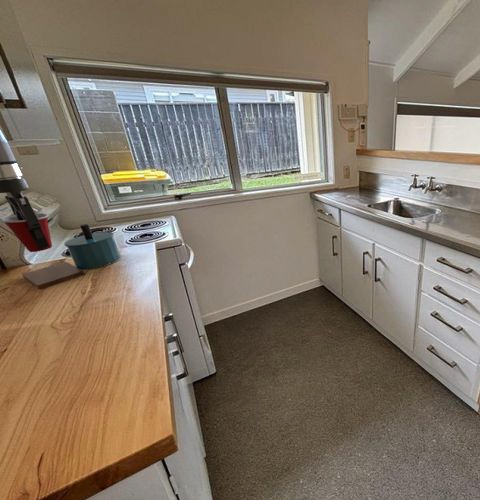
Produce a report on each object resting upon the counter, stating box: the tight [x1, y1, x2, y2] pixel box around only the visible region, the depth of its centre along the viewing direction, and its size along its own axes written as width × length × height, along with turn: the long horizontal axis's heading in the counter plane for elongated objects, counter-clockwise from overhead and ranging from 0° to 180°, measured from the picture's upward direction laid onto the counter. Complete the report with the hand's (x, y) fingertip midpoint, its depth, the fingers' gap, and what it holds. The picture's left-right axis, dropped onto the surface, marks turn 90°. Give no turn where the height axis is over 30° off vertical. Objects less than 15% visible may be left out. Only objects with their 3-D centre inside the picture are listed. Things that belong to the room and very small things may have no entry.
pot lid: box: [63, 223, 115, 248], centre depth 108 cm, size 15×15×7 cm
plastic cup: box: [1, 212, 53, 253], centre depth 96 cm, size 11×11×12 cm
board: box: [21, 261, 86, 290], centre depth 102 cm, size 12×18×2 cm, turn 59°
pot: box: [66, 236, 121, 271], centre depth 111 cm, size 14×14×10 cm
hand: (39, 245), depth 98 cm, fingers closed on plastic cup, 8 cm apart
